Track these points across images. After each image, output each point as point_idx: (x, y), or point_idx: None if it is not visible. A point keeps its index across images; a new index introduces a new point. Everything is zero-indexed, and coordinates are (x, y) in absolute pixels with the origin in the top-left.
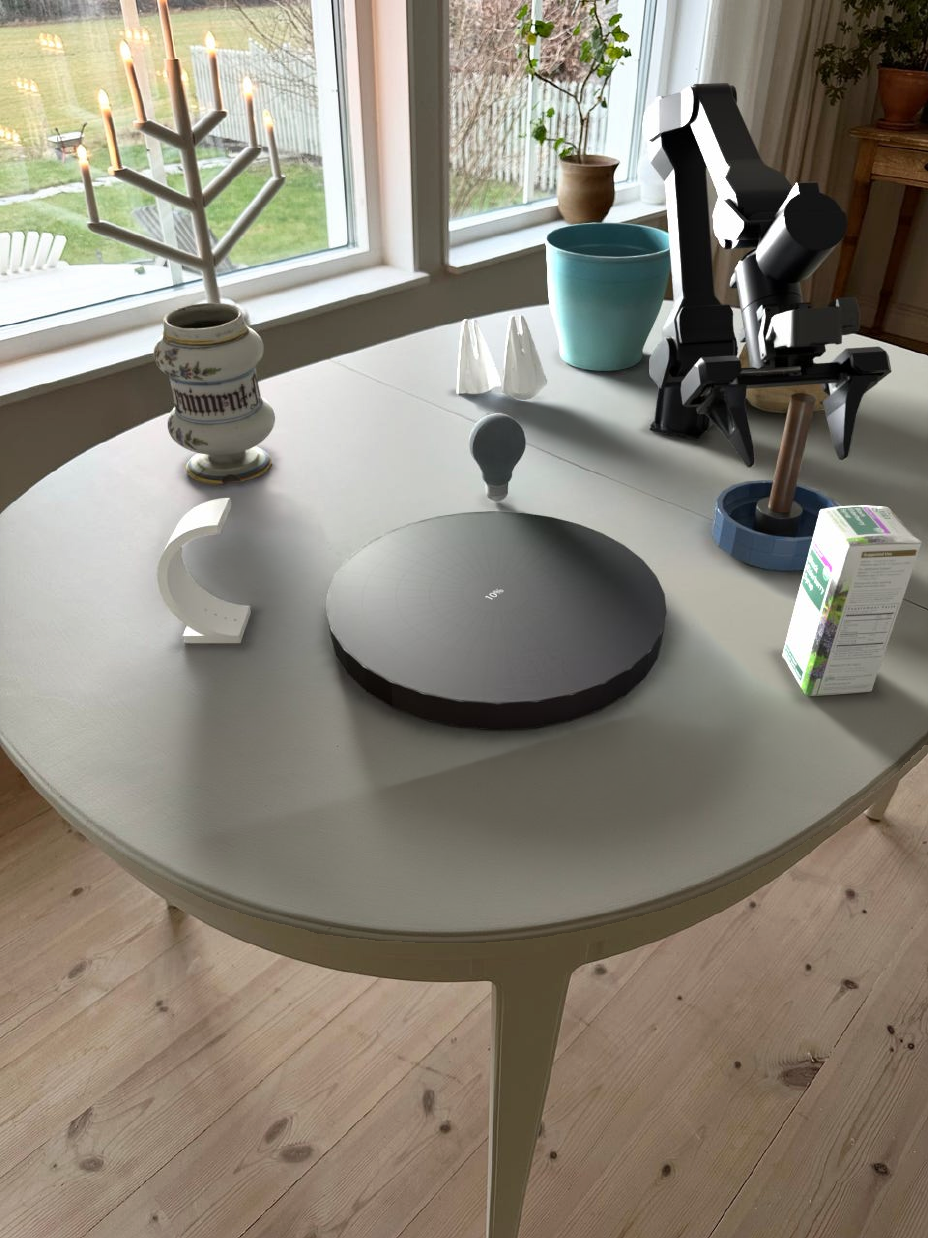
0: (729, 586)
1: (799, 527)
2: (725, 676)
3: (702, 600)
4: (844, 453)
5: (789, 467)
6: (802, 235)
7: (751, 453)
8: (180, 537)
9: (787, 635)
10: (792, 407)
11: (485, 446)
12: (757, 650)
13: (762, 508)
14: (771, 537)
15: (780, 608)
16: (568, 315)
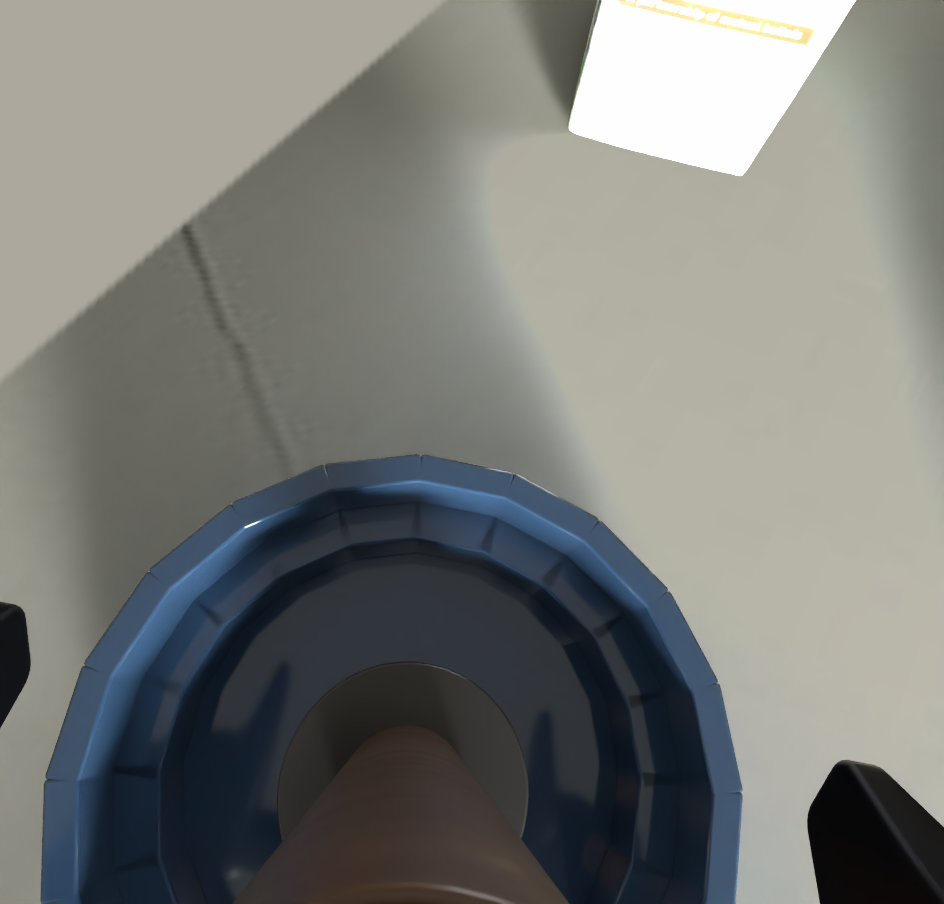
0: (732, 532)
1: (228, 817)
2: (923, 166)
3: (858, 488)
4: (6, 611)
5: (456, 760)
6: None
7: (911, 827)
8: None
9: (777, 121)
10: None
11: None
12: (795, 221)
13: (503, 812)
14: (608, 535)
15: (625, 362)
16: None
